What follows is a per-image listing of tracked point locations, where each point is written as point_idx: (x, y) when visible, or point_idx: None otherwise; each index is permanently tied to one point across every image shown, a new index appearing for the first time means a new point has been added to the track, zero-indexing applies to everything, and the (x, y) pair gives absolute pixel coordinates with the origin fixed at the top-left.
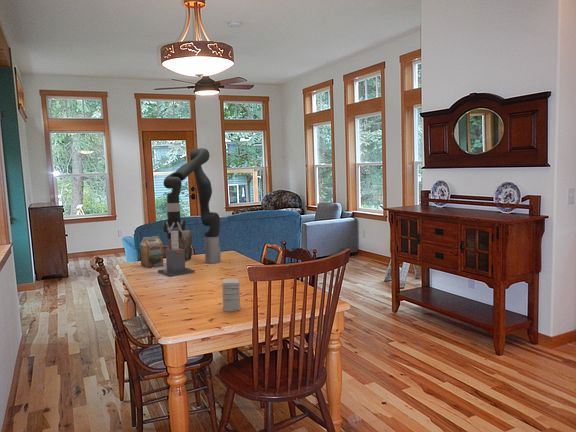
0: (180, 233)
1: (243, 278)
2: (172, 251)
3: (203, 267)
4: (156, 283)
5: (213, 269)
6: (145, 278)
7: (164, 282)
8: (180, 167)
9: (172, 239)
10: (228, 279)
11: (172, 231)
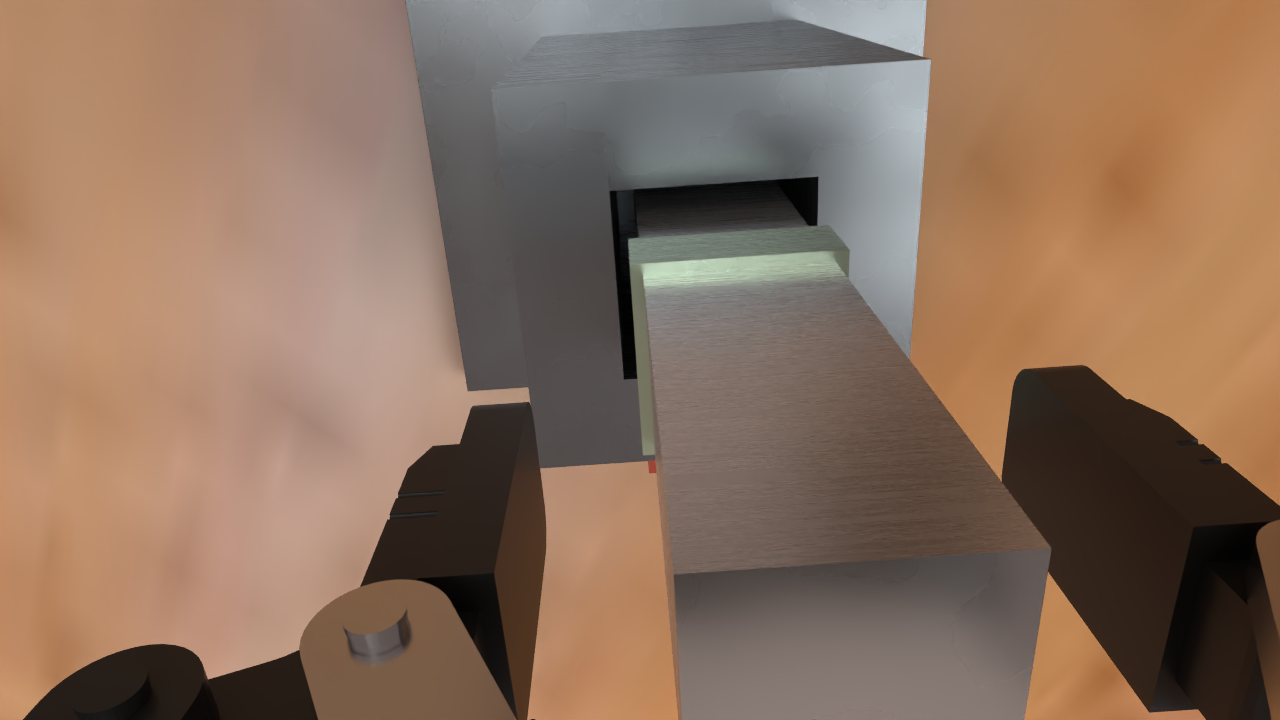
0: (1123, 648)
1: None
2: (544, 464)
3: (1256, 57)
4: (200, 589)
5: (1228, 323)
6: (107, 222)
7: (304, 600)
8: None
9: (656, 441)
10: None
11: (723, 683)
